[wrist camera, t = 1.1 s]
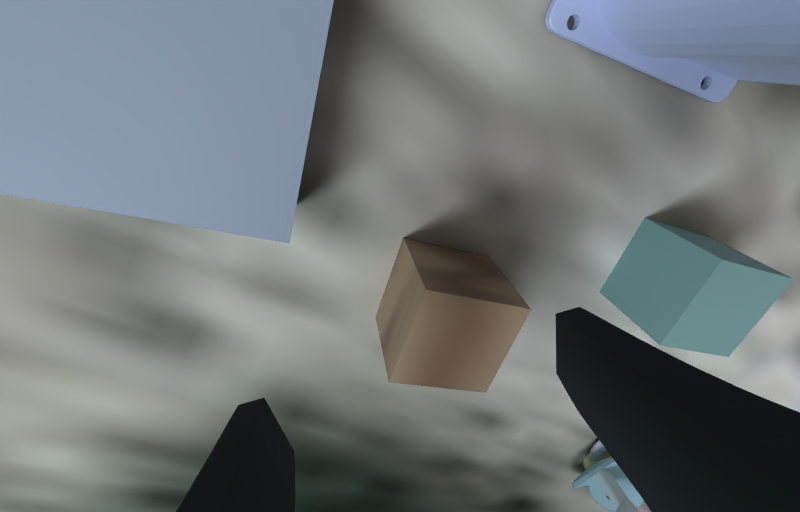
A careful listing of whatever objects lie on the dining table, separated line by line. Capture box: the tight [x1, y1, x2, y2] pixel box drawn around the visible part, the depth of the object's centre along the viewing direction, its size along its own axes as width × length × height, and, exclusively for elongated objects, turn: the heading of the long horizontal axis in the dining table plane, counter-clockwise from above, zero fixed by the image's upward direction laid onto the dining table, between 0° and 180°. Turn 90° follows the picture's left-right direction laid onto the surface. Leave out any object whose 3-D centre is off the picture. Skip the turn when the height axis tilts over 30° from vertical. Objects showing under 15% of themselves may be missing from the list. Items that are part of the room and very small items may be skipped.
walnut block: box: [376, 238, 531, 392], centre depth 18 cm, size 5×5×5 cm
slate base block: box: [0, 0, 334, 243], centre depth 12 cm, size 9×9×4 cm
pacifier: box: [572, 440, 644, 512], centre depth 28 cm, size 7×6×6 cm
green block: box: [600, 218, 793, 357], centre depth 20 cm, size 5×5×5 cm
